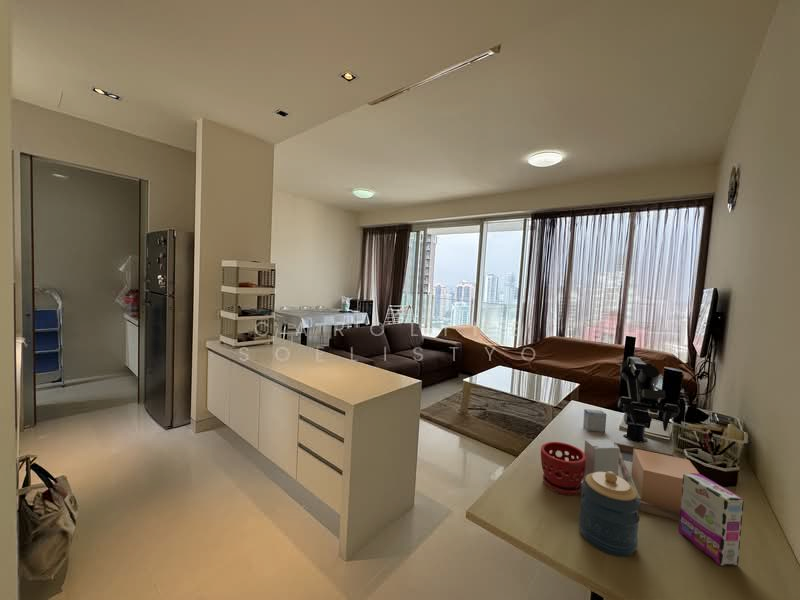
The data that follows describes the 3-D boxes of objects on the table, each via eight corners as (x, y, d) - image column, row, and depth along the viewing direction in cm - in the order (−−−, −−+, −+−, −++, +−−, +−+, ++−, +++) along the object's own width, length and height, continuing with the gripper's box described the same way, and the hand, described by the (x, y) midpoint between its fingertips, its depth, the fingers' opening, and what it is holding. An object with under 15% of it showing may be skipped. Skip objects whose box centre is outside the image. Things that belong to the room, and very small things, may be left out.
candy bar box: (739, 566, 78) (746, 499, 78) (720, 567, 78) (726, 499, 77) (694, 530, 90) (699, 472, 89) (677, 531, 89) (682, 472, 88)
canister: (650, 552, 82) (655, 483, 81) (609, 563, 78) (614, 491, 77) (604, 516, 94) (608, 456, 93) (567, 524, 90) (571, 461, 89)
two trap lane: (613, 448, 135) (614, 442, 135) (675, 461, 126) (675, 454, 126) (634, 510, 98) (635, 501, 97) (724, 534, 89) (725, 524, 89)
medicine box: (600, 428, 154) (601, 410, 154) (605, 432, 150) (606, 413, 150) (582, 426, 155) (584, 408, 155) (587, 431, 151) (588, 412, 150)
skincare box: (605, 481, 111) (608, 438, 110) (618, 493, 105) (621, 447, 104) (581, 481, 111) (584, 438, 110) (592, 493, 105) (595, 447, 104)
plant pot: (543, 470, 117) (545, 437, 116) (586, 484, 109) (588, 449, 109) (534, 488, 106) (536, 452, 106) (581, 505, 99) (583, 466, 98)
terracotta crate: (631, 476, 115) (633, 448, 114) (686, 489, 108) (688, 459, 108) (641, 501, 101) (643, 469, 101) (704, 518, 95) (707, 484, 94)
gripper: (621, 376, 132) (624, 413, 122) (680, 384, 124) (688, 424, 114) (616, 390, 139) (619, 425, 130) (672, 398, 131) (678, 437, 122)
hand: (650, 427), depth 124 cm, fingers open, 9 cm apart
